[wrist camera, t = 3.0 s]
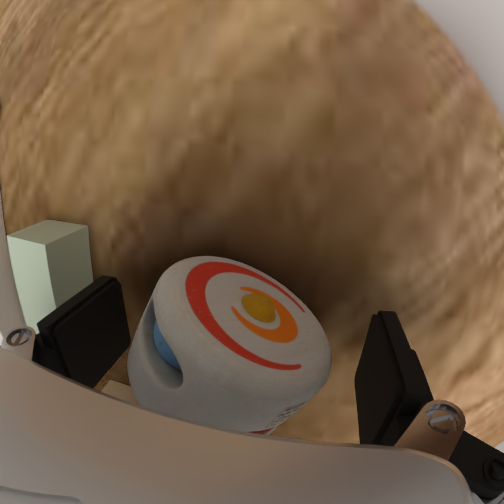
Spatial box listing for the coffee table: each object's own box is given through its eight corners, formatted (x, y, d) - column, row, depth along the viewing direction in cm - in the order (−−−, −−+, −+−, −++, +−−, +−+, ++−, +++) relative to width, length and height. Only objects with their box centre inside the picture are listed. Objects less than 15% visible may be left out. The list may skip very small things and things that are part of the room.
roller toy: (205, 217, 11) (113, 282, 6) (348, 305, 11) (367, 424, 6) (162, 303, 13) (85, 390, 7) (286, 376, 13) (266, 486, 7)
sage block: (104, 333, 14) (72, 365, 12) (65, 319, 15) (33, 345, 12) (90, 224, 12) (45, 245, 9) (49, 218, 13) (6, 235, 10)
